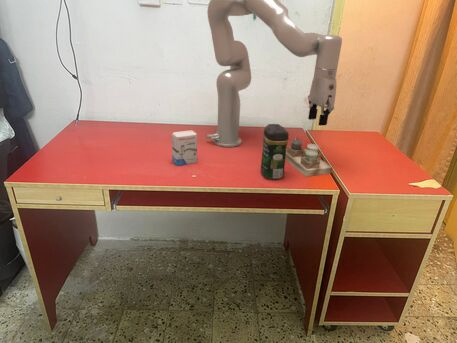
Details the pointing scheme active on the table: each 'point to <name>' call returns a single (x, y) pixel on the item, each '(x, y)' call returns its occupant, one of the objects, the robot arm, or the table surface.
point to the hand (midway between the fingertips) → (317, 121)
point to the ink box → (184, 147)
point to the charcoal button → (296, 144)
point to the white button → (313, 147)
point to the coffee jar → (274, 151)
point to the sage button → (311, 155)
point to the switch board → (307, 163)
